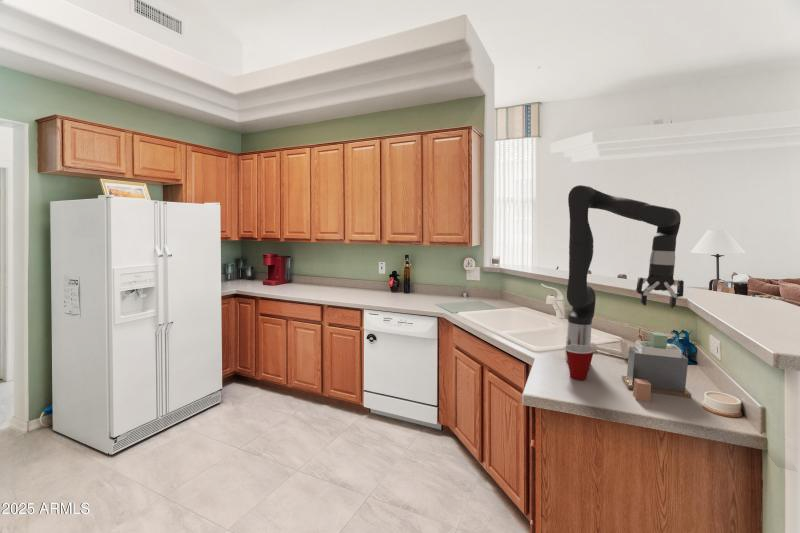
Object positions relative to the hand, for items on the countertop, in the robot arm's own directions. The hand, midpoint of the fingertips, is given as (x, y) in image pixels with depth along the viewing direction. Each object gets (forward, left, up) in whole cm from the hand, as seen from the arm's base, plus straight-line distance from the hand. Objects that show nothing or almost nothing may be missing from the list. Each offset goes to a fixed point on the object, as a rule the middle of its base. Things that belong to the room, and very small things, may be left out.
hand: (657, 306), depth 138 cm
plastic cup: (-26, -6, -29) cm, 40 cm away
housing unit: (-1, -6, -29) cm, 30 cm away
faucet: (-9, +29, -30) cm, 42 cm away
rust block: (-8, -18, -29) cm, 35 cm away
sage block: (-1, -6, -15) cm, 16 cm away
